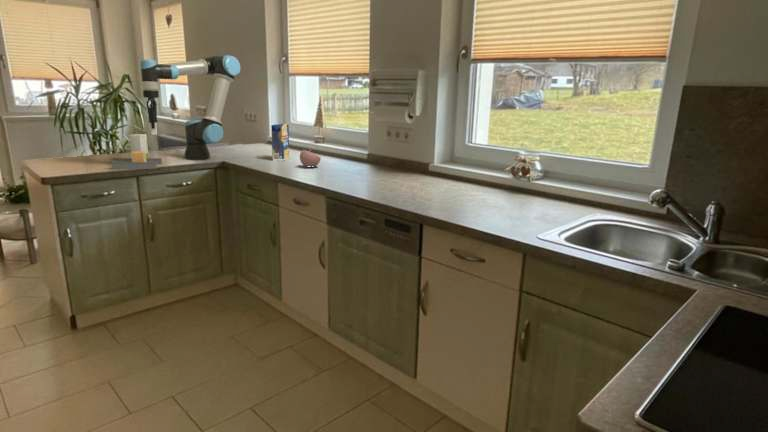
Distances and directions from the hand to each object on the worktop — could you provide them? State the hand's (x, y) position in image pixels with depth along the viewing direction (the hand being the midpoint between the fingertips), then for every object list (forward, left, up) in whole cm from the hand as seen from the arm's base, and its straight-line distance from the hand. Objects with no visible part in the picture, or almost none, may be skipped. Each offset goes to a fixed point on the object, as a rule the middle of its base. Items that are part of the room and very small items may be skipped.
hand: (154, 134), depth 262 cm
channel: (+10, 0, -18) cm, 20 cm away
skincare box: (+13, -19, -18) cm, 29 cm away
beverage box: (-68, -23, -18) cm, 74 cm away
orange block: (+9, 0, -18) cm, 20 cm away
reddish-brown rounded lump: (-84, +6, -18) cm, 86 cm away
